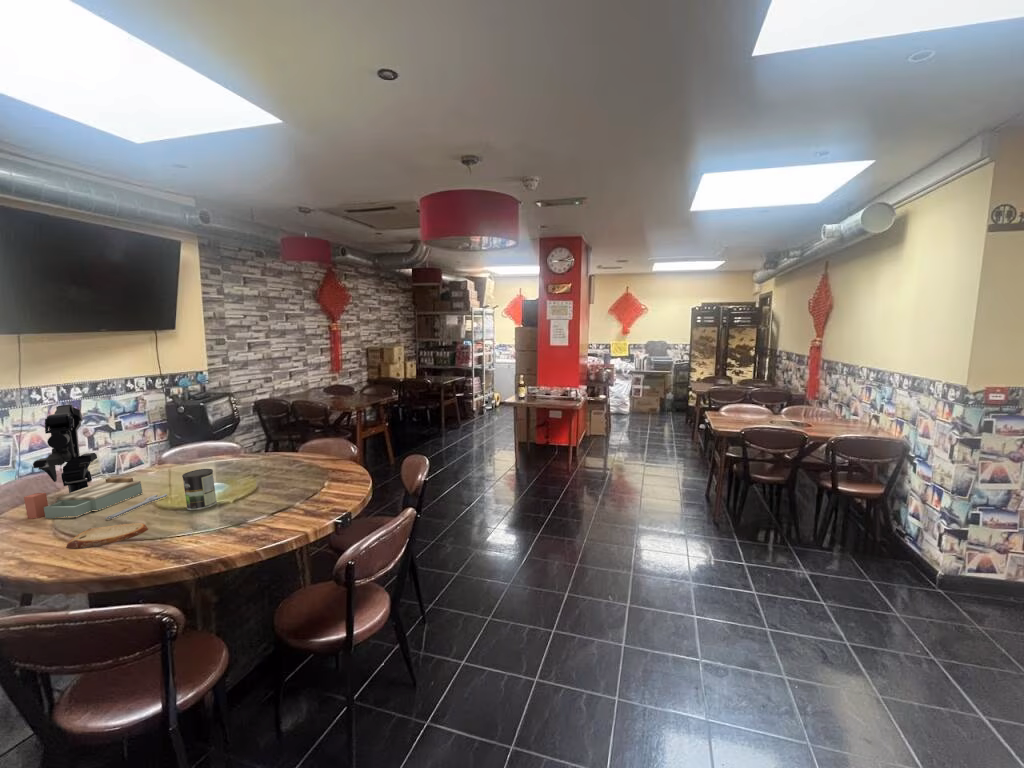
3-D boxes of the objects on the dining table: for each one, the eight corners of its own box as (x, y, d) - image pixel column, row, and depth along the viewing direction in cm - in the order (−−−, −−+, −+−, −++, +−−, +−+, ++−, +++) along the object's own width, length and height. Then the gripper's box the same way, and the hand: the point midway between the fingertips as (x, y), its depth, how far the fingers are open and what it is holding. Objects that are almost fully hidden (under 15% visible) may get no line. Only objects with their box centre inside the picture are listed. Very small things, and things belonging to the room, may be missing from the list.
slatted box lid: (56, 499, 183) (55, 493, 182) (105, 483, 202) (104, 477, 202) (95, 499, 181) (93, 493, 180) (140, 482, 200) (140, 477, 200)
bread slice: (153, 529, 161) (151, 519, 161) (93, 553, 144) (91, 543, 144) (121, 525, 167) (119, 515, 167) (60, 547, 150) (58, 537, 150)
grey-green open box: (41, 518, 177) (39, 506, 177) (107, 494, 203) (105, 483, 202) (80, 518, 175) (78, 506, 174) (142, 493, 201) (140, 483, 200)
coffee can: (190, 512, 175) (185, 478, 173) (184, 506, 182) (179, 473, 180) (220, 504, 182) (215, 471, 181) (213, 498, 190) (209, 467, 188)
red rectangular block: (27, 518, 178) (23, 496, 177) (40, 513, 182) (36, 492, 181) (37, 518, 177) (33, 496, 176) (49, 513, 182) (45, 492, 181)
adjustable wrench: (110, 522, 171) (109, 517, 171) (96, 521, 172) (95, 517, 172) (170, 497, 195) (169, 493, 195) (158, 497, 197) (157, 493, 196)
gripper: (20, 451, 175) (27, 489, 177) (80, 445, 181) (87, 482, 183) (38, 445, 185) (45, 481, 187) (94, 439, 191) (100, 474, 193)
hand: (69, 479), depth 187 cm, fingers open, 9 cm apart
